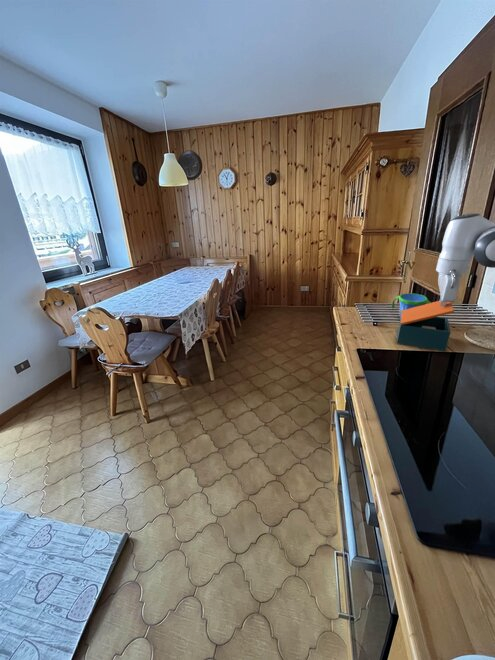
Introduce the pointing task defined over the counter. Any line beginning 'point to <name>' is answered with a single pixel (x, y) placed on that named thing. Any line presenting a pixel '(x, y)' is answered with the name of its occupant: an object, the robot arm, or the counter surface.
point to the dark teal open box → (425, 333)
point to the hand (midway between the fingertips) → (442, 305)
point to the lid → (425, 312)
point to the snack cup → (410, 301)
